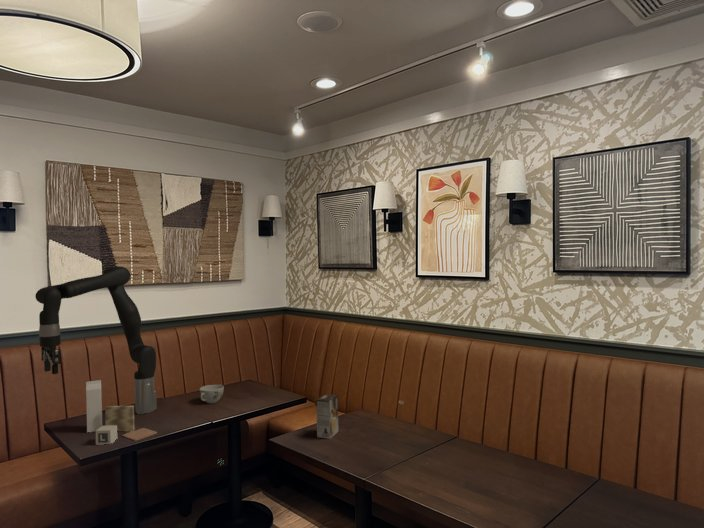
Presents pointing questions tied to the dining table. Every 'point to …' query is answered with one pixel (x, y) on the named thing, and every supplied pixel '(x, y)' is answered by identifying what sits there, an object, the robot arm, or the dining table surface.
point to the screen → (120, 417)
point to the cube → (106, 434)
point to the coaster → (139, 434)
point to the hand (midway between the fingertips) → (51, 372)
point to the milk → (93, 405)
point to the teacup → (211, 393)
